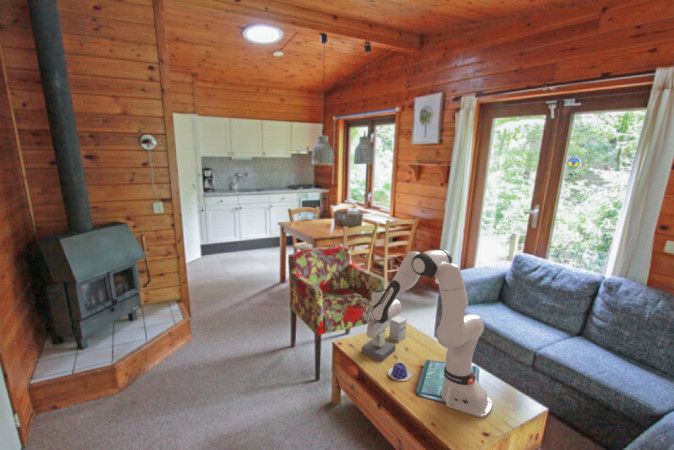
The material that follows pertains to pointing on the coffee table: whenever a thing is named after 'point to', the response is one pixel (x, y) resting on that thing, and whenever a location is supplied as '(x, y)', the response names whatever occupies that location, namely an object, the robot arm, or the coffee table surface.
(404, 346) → the coffee table surface
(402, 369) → the pudding
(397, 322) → the supplement box
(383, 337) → the sage block
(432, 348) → the coffee table surface
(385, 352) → the base block
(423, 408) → the coffee table surface
